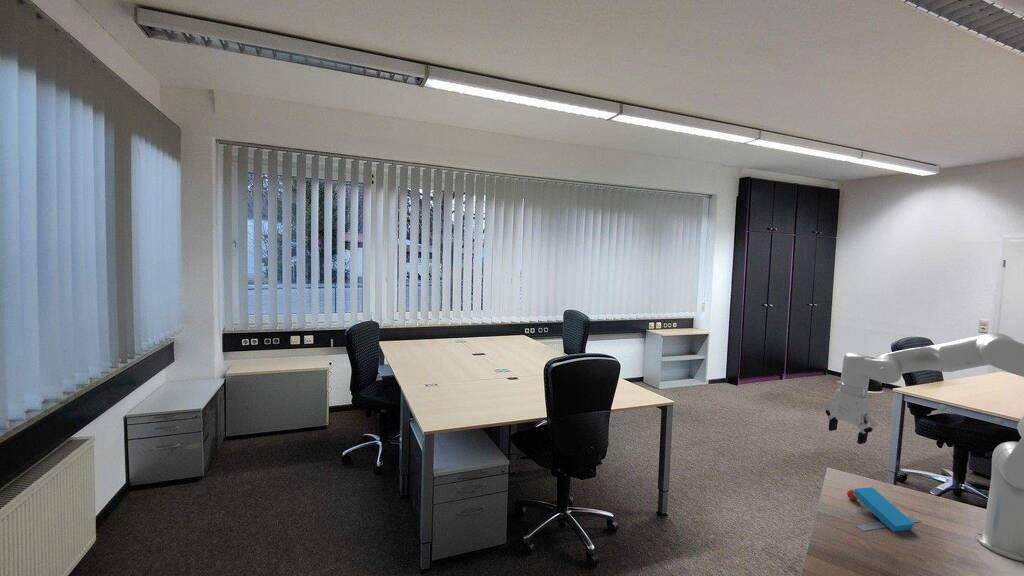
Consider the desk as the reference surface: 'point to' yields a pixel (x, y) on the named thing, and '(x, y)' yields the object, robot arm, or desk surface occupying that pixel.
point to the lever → (881, 508)
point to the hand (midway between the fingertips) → (846, 436)
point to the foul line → (880, 524)
